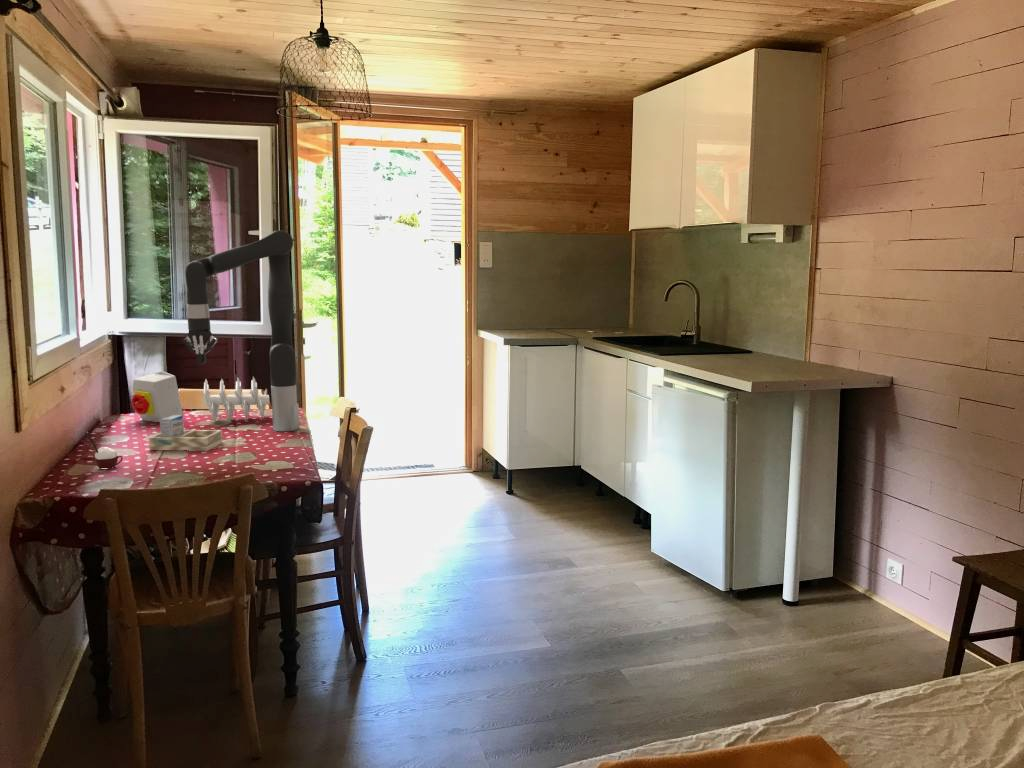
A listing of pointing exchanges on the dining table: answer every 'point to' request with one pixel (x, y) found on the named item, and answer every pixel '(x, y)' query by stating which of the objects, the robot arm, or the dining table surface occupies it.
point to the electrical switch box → (156, 396)
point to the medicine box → (172, 426)
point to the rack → (187, 441)
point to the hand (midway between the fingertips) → (201, 364)
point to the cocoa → (105, 456)
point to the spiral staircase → (234, 400)
